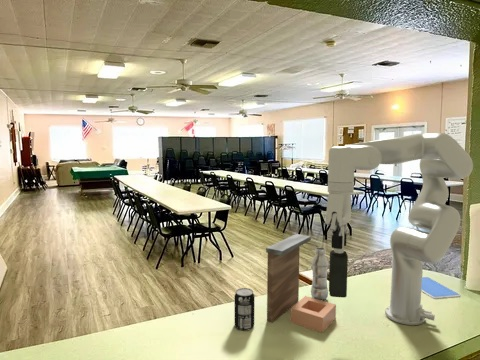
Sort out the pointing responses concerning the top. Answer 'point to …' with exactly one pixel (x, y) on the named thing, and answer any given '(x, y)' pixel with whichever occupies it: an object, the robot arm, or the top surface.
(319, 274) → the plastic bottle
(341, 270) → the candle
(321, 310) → the socket block
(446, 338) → the top surface
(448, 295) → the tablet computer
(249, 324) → the beverage can
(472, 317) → the top surface
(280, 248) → the brown board grey top
